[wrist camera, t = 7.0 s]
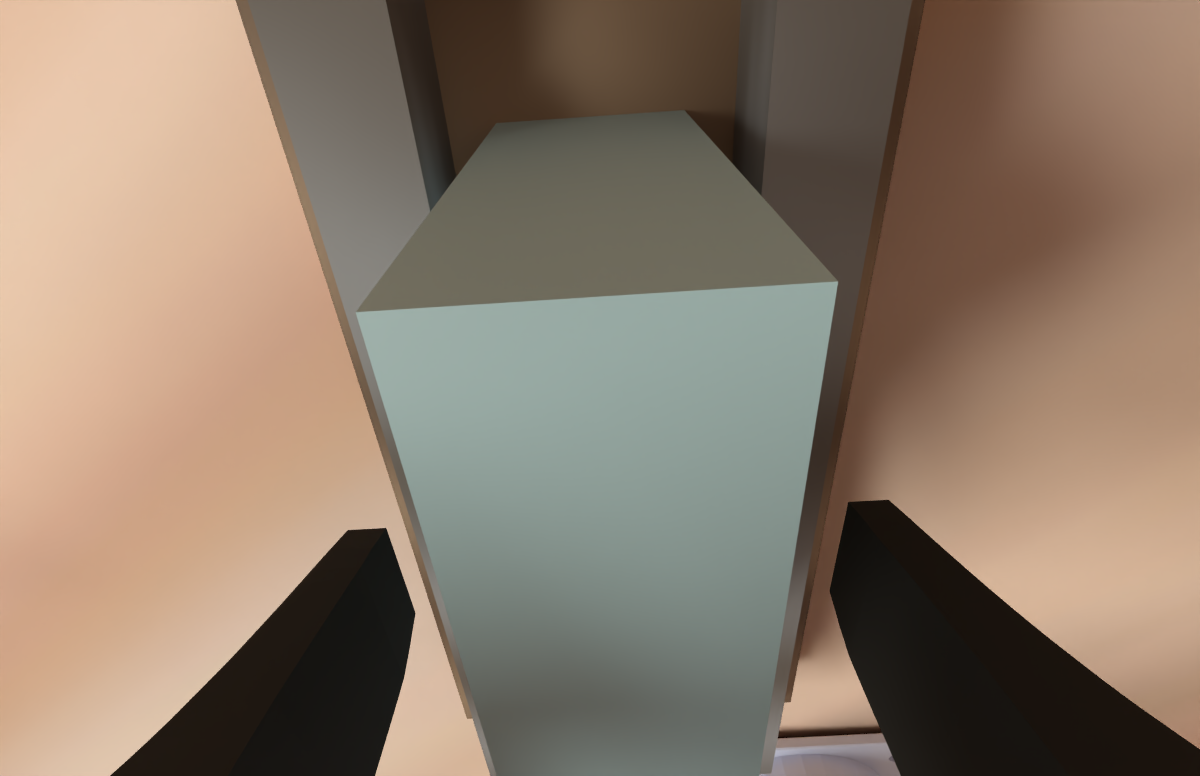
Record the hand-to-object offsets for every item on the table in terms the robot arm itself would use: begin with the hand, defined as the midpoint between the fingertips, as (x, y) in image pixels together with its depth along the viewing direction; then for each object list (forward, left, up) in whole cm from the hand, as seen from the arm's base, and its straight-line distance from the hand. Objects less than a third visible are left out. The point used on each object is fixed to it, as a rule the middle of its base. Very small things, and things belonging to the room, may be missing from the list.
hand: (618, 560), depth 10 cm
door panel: (+1, 0, -4) cm, 4 cm away
